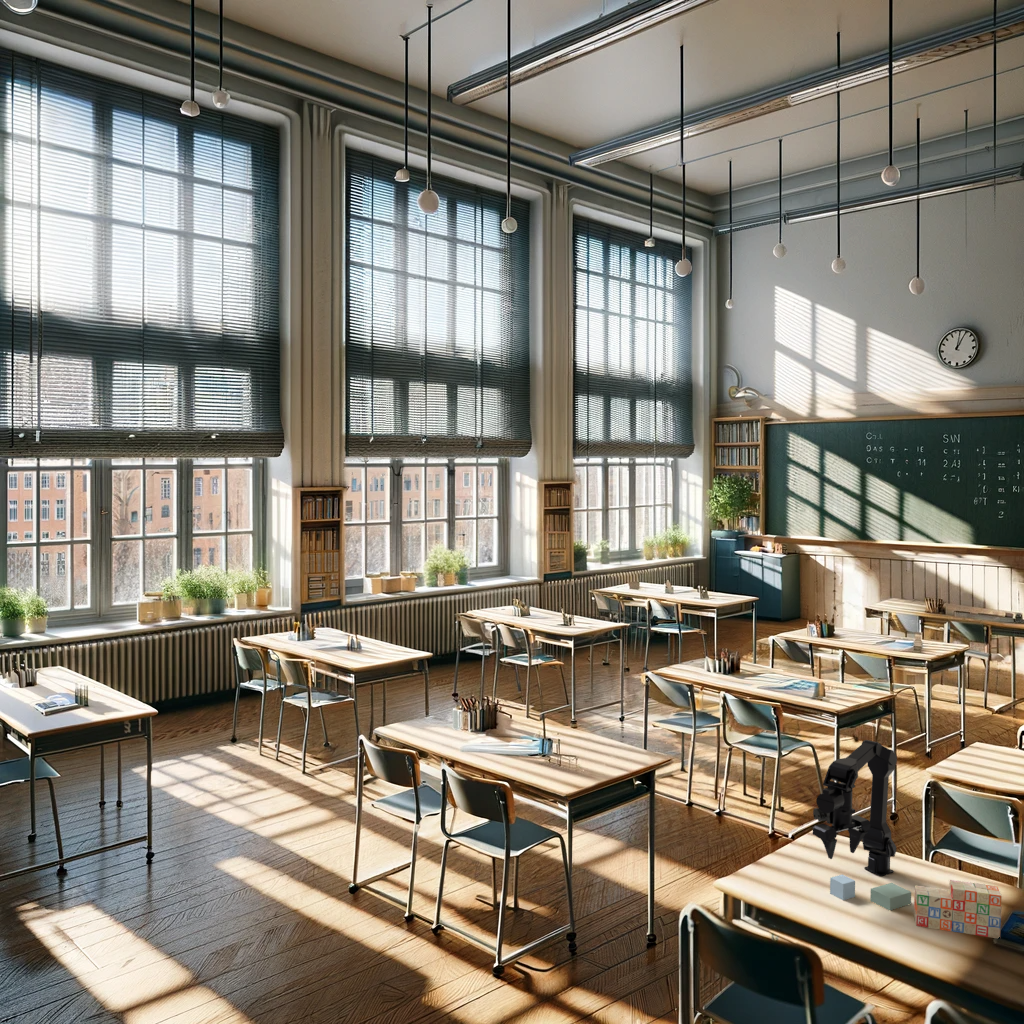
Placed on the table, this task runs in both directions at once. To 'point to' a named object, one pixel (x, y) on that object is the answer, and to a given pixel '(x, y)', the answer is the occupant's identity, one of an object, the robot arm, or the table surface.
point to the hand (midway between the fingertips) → (841, 855)
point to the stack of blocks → (960, 908)
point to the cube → (842, 887)
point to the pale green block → (890, 896)
